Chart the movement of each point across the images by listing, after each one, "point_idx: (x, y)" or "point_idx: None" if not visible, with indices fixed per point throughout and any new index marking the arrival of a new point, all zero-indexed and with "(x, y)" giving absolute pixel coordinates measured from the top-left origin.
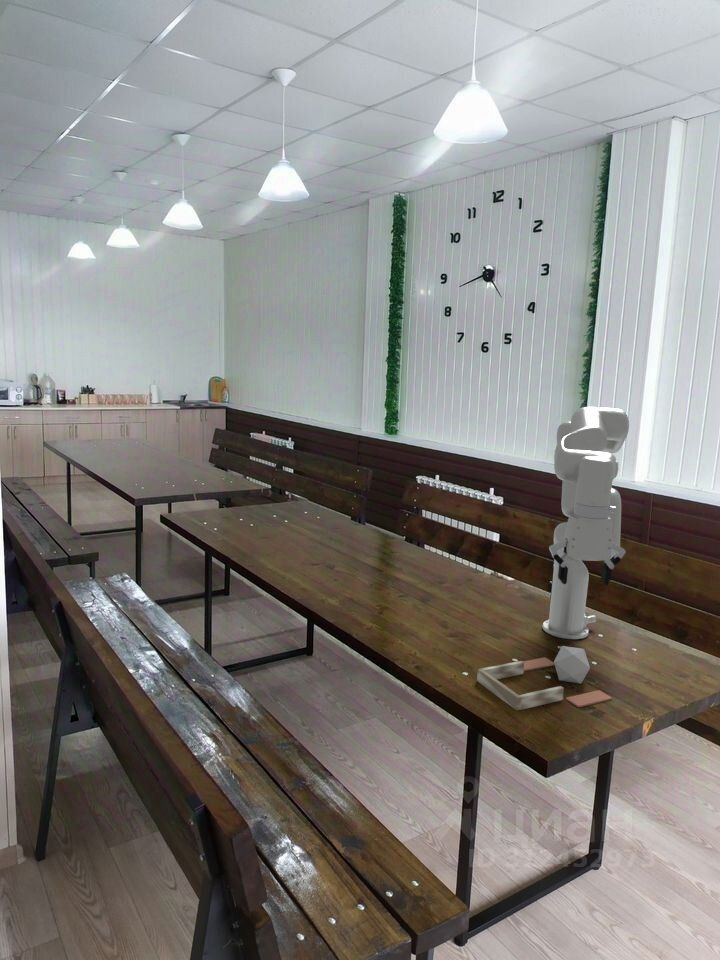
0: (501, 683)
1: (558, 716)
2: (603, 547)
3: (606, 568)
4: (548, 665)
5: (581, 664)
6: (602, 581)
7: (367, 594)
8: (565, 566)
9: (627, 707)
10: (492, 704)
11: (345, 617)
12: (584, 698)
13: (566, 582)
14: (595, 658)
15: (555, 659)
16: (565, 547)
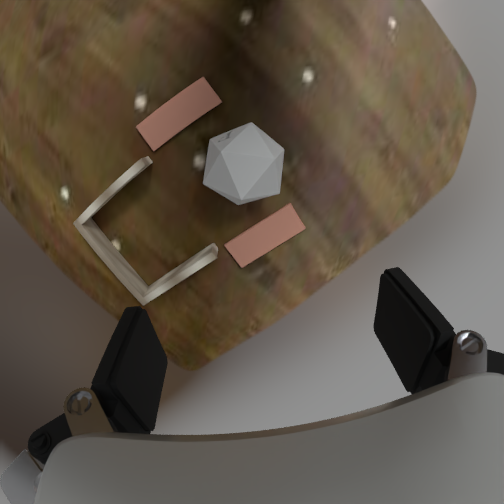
0: (113, 266)
1: (207, 297)
2: None
3: (421, 377)
4: (205, 112)
5: (260, 197)
6: (381, 298)
7: None
8: (133, 427)
9: (322, 248)
10: (115, 283)
11: None
12: (256, 240)
13: (166, 366)
14: (314, 56)
15: (206, 168)
16: (55, 483)
